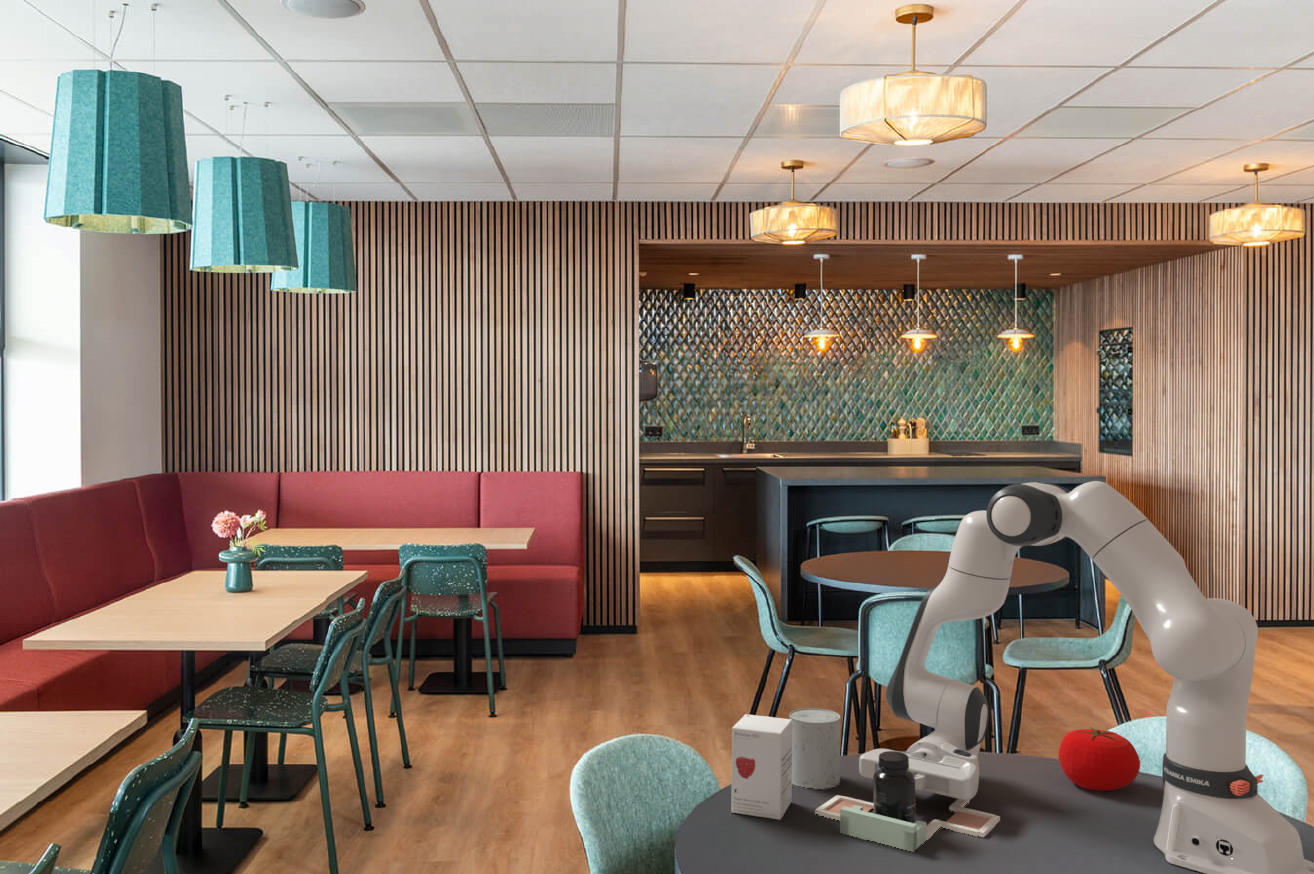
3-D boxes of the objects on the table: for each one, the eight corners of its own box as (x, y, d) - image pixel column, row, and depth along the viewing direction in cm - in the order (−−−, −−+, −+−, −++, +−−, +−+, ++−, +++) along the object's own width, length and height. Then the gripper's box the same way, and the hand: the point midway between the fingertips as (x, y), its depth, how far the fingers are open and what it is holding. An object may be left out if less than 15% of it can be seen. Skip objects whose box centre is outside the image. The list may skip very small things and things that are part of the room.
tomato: (1041, 778, 190) (1042, 724, 190) (1089, 768, 196) (1089, 715, 196) (1105, 804, 177) (1106, 745, 177) (1154, 792, 183) (1155, 735, 183)
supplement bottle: (919, 836, 163) (918, 764, 162) (877, 836, 164) (875, 764, 163) (912, 817, 170) (910, 748, 169) (871, 817, 170) (869, 748, 170)
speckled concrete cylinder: (810, 768, 196) (810, 705, 196) (850, 781, 189) (851, 715, 188) (778, 779, 189) (778, 714, 189) (818, 793, 182) (819, 726, 182)
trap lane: (867, 779, 190) (867, 758, 189) (1009, 811, 174) (1009, 788, 174) (801, 823, 169) (802, 799, 169) (957, 864, 153) (957, 838, 153)
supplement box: (729, 813, 173) (729, 726, 173) (743, 795, 181) (743, 712, 181) (781, 821, 170) (781, 732, 169) (793, 802, 178) (793, 718, 178)
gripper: (877, 735, 187) (843, 754, 175) (987, 758, 174) (958, 780, 163) (876, 769, 187) (843, 790, 175) (986, 794, 174) (958, 818, 163)
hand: (899, 785), depth 169 cm, fingers closed, pressing on supplement bottle
